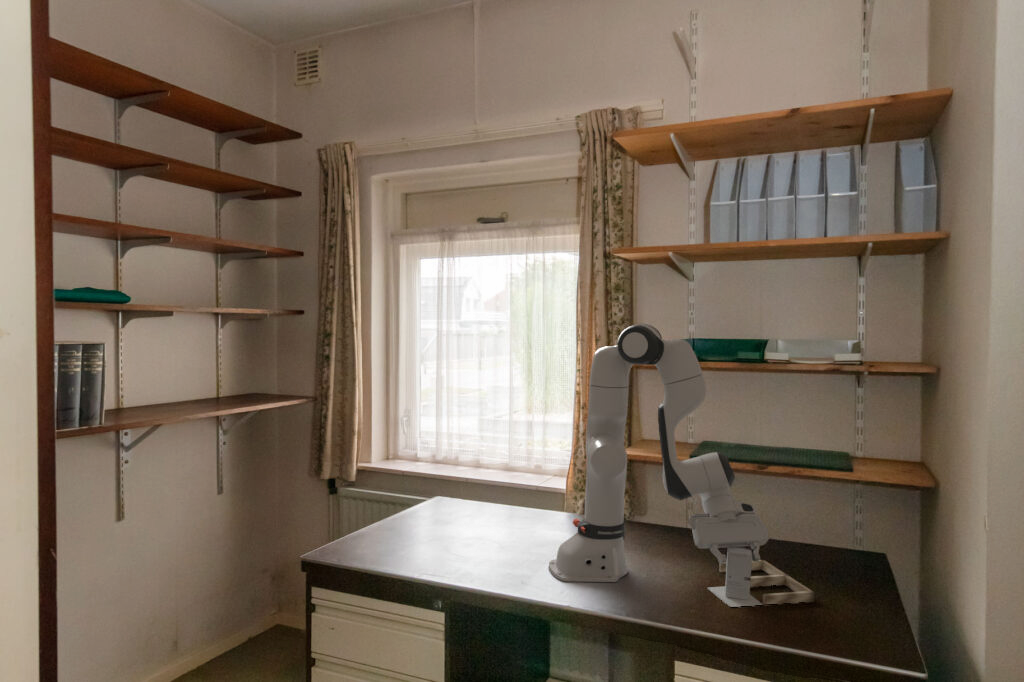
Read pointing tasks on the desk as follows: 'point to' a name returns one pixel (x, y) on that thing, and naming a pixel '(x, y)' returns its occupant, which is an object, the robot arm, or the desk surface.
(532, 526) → the desk surface
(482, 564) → the desk surface
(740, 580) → the skincare box
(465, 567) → the desk surface
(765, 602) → the lane rack
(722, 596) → the grey mat
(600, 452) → the robot arm
